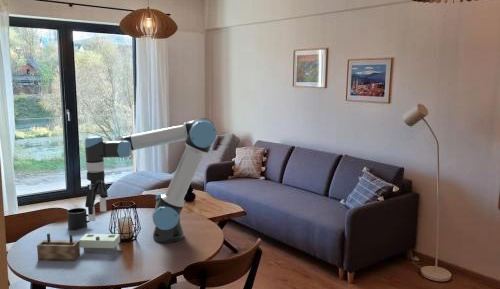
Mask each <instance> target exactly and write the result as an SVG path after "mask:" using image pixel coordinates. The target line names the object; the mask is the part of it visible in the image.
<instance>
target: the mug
mask: <svg viewBox="0 0 500 289" xmlns="http://www.w3.org/2000/svg"><path fill="white" fill-rule="evenodd" d="M66 213H67V228H68V230H72V231H73V230H74V231H76V230H82V229H84V228H87V226H88V223H90V222H91V221H89V220H88V219H87V217H88V212H87V208H84V207H83V208H82V207H74V208H70V209H68V210H67V212H66Z"/></svg>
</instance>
